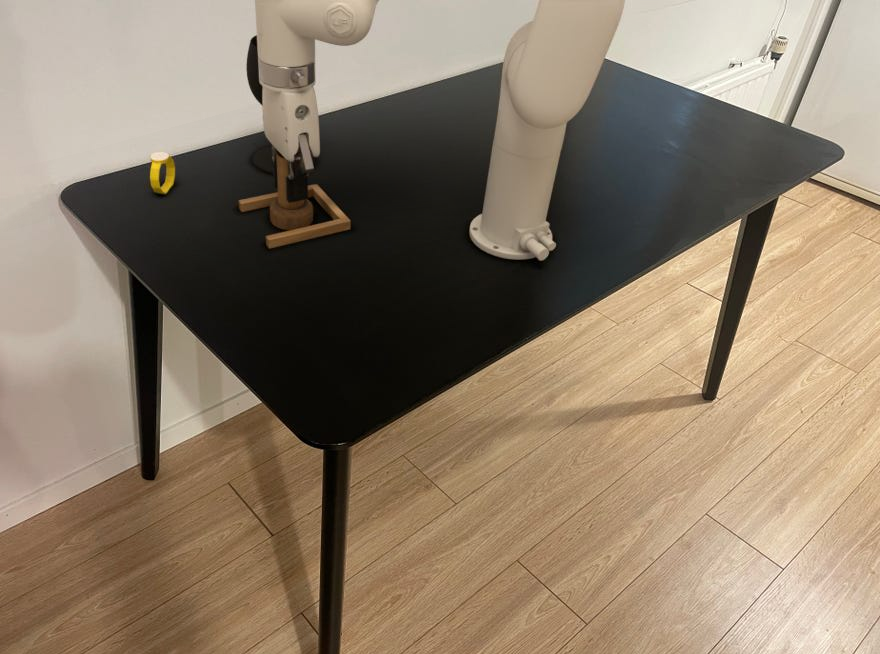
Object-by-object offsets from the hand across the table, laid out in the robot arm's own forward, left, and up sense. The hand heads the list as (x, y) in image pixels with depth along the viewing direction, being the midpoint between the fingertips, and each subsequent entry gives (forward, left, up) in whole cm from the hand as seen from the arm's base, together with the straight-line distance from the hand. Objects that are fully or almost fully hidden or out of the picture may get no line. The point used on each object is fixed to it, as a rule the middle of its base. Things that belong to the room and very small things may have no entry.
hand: (290, 191), depth 116 cm
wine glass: (+18, -6, -5) cm, 20 cm away
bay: (0, 0, -5) cm, 5 cm away
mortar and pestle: (0, 0, -5) cm, 5 cm away
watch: (+16, +15, -5) cm, 22 cm away
